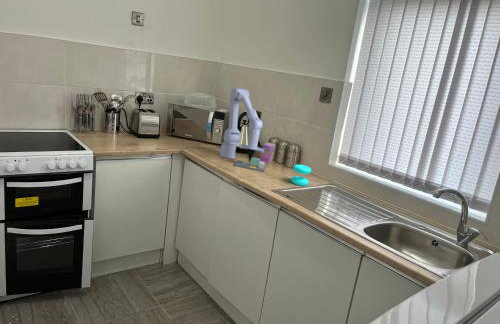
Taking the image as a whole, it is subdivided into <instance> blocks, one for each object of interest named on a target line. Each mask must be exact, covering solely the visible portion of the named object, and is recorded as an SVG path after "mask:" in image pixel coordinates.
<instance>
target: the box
mask: <svg viewBox="0 0 500 324" xmlns="http://www.w3.org/2000/svg"><path fill="white" fill-rule="evenodd" d="M262 149H264V152H263V153H262V152H261V154H260V158H259V159H260V161H261V162H265V164H267V165H268V164H270V163H271V162H273V158H274V155H275V153H274V152H275V149H276V143H271V142H266V143H263V145H262Z"/></svg>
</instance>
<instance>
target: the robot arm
mask: <svg viewBox="0 0 500 324" xmlns="http://www.w3.org/2000/svg"><path fill="white" fill-rule="evenodd" d="M250 95H251V94H250V92H249V90H248V89H246V88H238V87H233V89H231V91H230V97H229V98H230V99H229V100H230V101H229V119H228V128H227V129H226V130H225V131H224V134H223V142H221V146H220V151H219V157H223V158H227V159H230V160H235V158H236V157H237V156H236V149H237V145H239V149H245V150H247V156H248V162H249V163H251V158H252V157H253V155H254V154H255V153H256V152H257V153H258V152H260V153H261V154H262V153H263V152H264V149H263V148H261V147H258V143H259V140H260V139H259V138H260V133H261V130H262V129H263V128H264V122H263V120H261V119H260V118H259V116H258V114H257V110H256V109H253V106H252V102H251V100H250ZM241 103H242V104H243V105H244V107H245V110H246V116H247V118H248V122H249V123H248V126H249V136H248V142H247V144H239V143H240V141H241V133H240V132H241V131H240V130H239V129H238V121H239V106H240V104H241Z"/></svg>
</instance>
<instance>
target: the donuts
mask: <svg viewBox="0 0 500 324" xmlns="http://www.w3.org/2000/svg"><path fill="white" fill-rule="evenodd" d="M293 171H294V172H296V173H298V174H300V175H309V174H311V173H312V168H311V167H310V166H307V165H305V164H304V165H303V164H295V165H293ZM300 175H293V176H292V177H291V178H290V182H291V183H292V184H294V185H296V186H303V187H305V186H308V184H309V183H310V182H309V180H308V179H307V178H305V177H304V176H300Z"/></svg>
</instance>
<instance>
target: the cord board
mask: <svg viewBox="0 0 500 324" xmlns="http://www.w3.org/2000/svg"><path fill="white" fill-rule="evenodd" d="M250 163H251V162H249V161H243V160H237V161H236V162H235V163H234V167H238V168H243V169H248V170H252V171H258V172H261V173H265V171H266V168H267V165H266V163H265V162H261V161H260V162H259V166H254V165H250Z"/></svg>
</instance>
